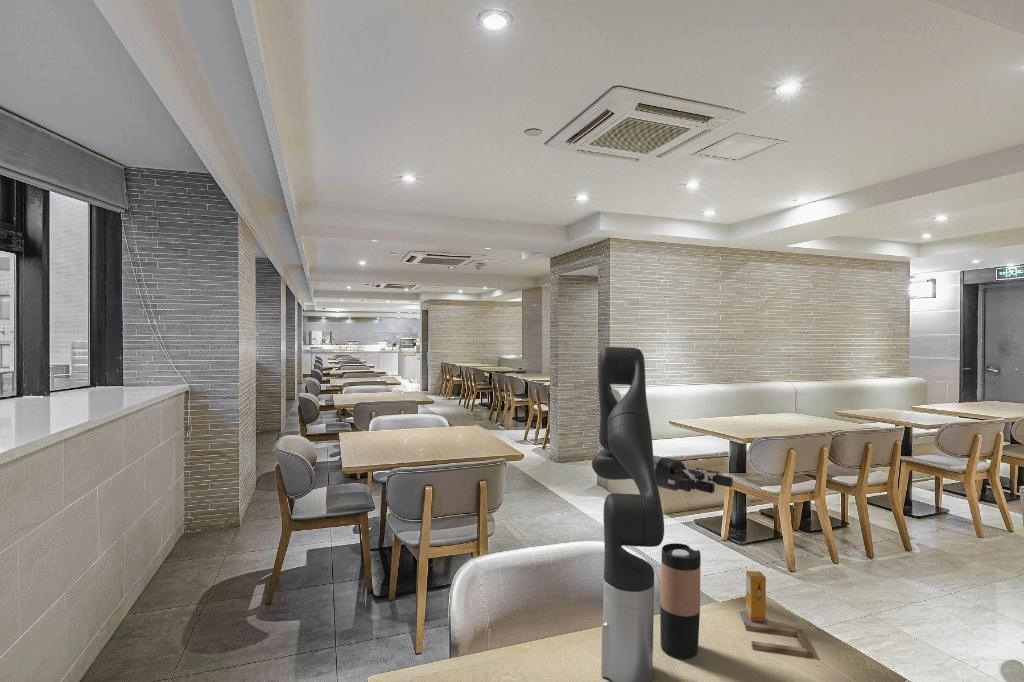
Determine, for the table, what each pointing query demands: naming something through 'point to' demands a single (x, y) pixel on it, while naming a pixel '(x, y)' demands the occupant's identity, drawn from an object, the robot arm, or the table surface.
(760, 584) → the supplement box
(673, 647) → the travel mug
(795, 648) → the wooden u-shaped frame
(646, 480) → the robot arm
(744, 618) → the coaster
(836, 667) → the table surface
